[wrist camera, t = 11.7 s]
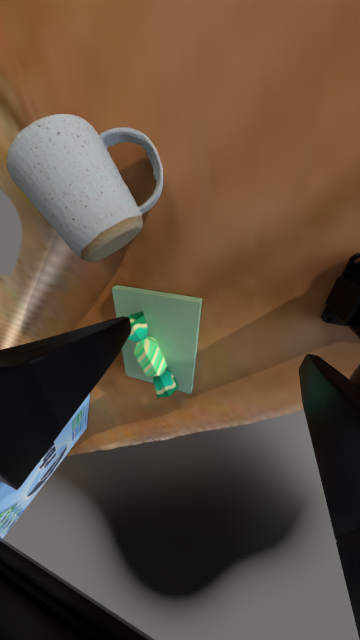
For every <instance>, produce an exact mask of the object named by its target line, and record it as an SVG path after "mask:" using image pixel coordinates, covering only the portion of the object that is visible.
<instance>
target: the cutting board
mask: <svg viewBox="0 0 360 640" xmlns="http://www.w3.org/2000/svg"><path fill="white" fill-rule="evenodd" d="M112 293H113V299H114V305H115V311H116V317H117V318H118V317H121V316H124V317H128V316H130V315H132V314H135V313H139V312H142V311H143V313H144V317H145V320H146V323H147V326H148V331H147V336H148V337H154V338H155V340H156V342H157V344H158V346H159V348H160V350H161V352H162V354H163V356H164V358H165V361H166V364H167V367H166V369H165V370H167V371H169V372H171V373H172V375H173V376H174V377H175V379H176V381H177V383H178V386H179V387H178V388H177V389H176V390H178V391H181V392H185V393H188V394H191V392H192V389H193V380H194V371H195V362H196V352H197V343H198V334H199V324H200V315H201V306H202V298H196V297H189V296H183V295H177V294H170V293H164V292H158V291H151V290H145V289H139V288H132V287H126V286H120V285H116V286H114V287H113V288H112ZM135 343H136V342H134V341H132V340H130V339H127V341H126V342H125V344H124V346H123V348H122V353H123V359H124V365H125V371H126V376H130V377H133V378H137V379H140V380H144V381H147V382H150V383H153V376H146V374H145V373H144V371H143V369H142V367H141V366H140V364H139V362H138V360H137V358H136V357H135V355H134V346H135Z"/></svg>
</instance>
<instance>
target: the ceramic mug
mask: <svg viewBox="0 0 360 640" xmlns="http://www.w3.org/2000/svg"><path fill="white" fill-rule="evenodd" d="M123 142H133V143H137V144H139V145H141V146H142V147H143V149H144V150H145V151H146V153H147V155H148V157H149V159H150V162H151V164H152V167H153V170H154V172H153V175H154V177H155V179H156V183H157V185H156V188H155V191H154V193H153V195H152V196H151V197H150V198H149V199H148V200H147V201H146V202H145V203H144V204H142V206H139V207H138V206H137V204H136V202H135V200H134V198H133V196H132V195H131V193H130V191H129V189H128V187H127V185H125V183H124V181H123V179H122V177H121V175H120V173H119V171H118V169H117V167H116V165H115V164H114V162H113V160H112V158H111V157H110V155H109V153H108V151H107V148H108V147H110V146H112V145H115V144H118V143H123ZM7 168H8V172H9V174H10V176H11V178H12V180H13V181H14V182H15V183H16V185H17V186H18V187H19V188H20V189H21V190H22V191H23V192H24V194H25V195H26V196H27V197H28V198H29V199H30V201H31V202H32V203H33V204H34V205H35V207H36V208H37V209H38V210H39V211H40V213H41V214H42V215H43V216H44V217H45V219H46V220H47V221H48V222H49V223H50V224H51V226H52V227H53V228H54V229H55V230H56V231H57V233H58V234H59V235H60V236H61V238H62V239H63V240H64V241H65V242H66V243H67V245H68V246H69V247H70V248H71V249H72V250H73V251H74V252H75V253H76V254H78V255H79V256H80V257H81V258H82V259H84V260H86V261H90V262H94V261H98V260H101V259H103V258H105V257H107V256H109V255H111V254H113V253H114V252H116V251H118V250H119V249H121V248H122V247H124V246H125V245H127V244H128V243H129V242H130V241H132V240H133V239H134V238H135V237H136V236H137V235H138V234H139V233H140V231H141V229H142V227H143V219H142V214H144V213H145V212H147V211H149V210H150V209H151V208H152V207H153V205H154V204H155V203H156V202H157V201H158V199H159V197H160V195H161V192H162V189H163V169H162V164H161V161H160V157H159V155H158V152H157V150H156V148H155V146H154V145H153V143H152V142H151V141H150V139H149V138H148V137H147V136H146V135H144V134H143V133H141V132H139V131H137V130H134V129H132V128H125V127H121V128H114V129H111V130H108V131H105V132H103V133H100V134H99V135H98V133H97V132H96V130H95V129H94V128H93V127H92V126H91V125H90V124H89V123H88V122H87V121H86V120H84V119H83V118H80V117H78V116H75V115H68V114H54V115H51V116H47V117H44V118H42V119H39V120H37V121H35V122H33V123H32V124H30V125H29V126H27V127H26V128H25V129H23V130H22V131H21V132H20V133H19V134H18V135H17V136H16V138H15V139H14V140H13V143H12V144H11V145H10V147H9V150H8V154H7Z"/></svg>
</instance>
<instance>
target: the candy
mask: <svg viewBox="0 0 360 640" xmlns="http://www.w3.org/2000/svg"><path fill="white" fill-rule="evenodd" d="M128 317H129V318H130V322H131V334H130V336H129V337H128V339H130V340H132V341H134V342H136V343H135V346H134V355H135V357H136V358H137V360H138V362H139V364H140V366H141V367H142V369H143V371H144V373H145V374H146V376H153V384H154V387H155V391H156V395H157V398H160V397H169V396H170V395H171V394H172V393H173V392H174V391H175V390H176V389H177V388H178V387H179V386H178V383H177V381H176V379H175V377H174V376H173V375H172V373H171V372H169V371H167V370H165V369H166V367H167V364H166V361H165V358H164V356H163V354H162V352H161V350H160V348H159V346H158V344H157V342H156V340H155V338H154V337H148V336H147V331H148V326H147V323H146V320H145V317H144V313H143V311H142V312H139V313H135V314H132V315H130V316H128Z"/></svg>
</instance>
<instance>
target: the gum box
mask: <svg viewBox="0 0 360 640" xmlns="http://www.w3.org/2000/svg"><path fill="white" fill-rule="evenodd" d="M89 399H90V394H89V395H88V396H87V398H86V399H85V400H84V402H83V403H82V404H81V406H80V407H79V409H78V410H77V411H76V413H75V414H74V415H73V417H72V418H71V419H70V421H69V422H68V423H67V425H66V426H65V427H64V428H63V430H62V432H61V433H60V434H59V436H58V437H57V438H56V440H55V441H54V443H53V444H52V445H51V447H50V448H49V449H48V451H47V452H46V453H45V455H44V456H43V457H42V459H41V460H40V462H39V463H38V464H37V466H36V467H35V468H34V470H33V471H32V472H31V474H30V475H29V476H28V478H27V479H26V480H25V482H24V483H23V484H22V486H21V487H20V488H19V489H18V490H16V489H14V488H12V487H10V486H8V485H7V484H5V483H3V482H1V481H0V538H1V539H3V537H4V536H5V535H6V534H7V532H8V531H9V530H10V528H11V527H12V526H13V524H14V523H15V522H16V520H17V519H18V518H19V516H20V515H21V514H22V512H23V511H24V510H25V508H26V507H27V506H28V505H29V503H30V502H31V501H32V499H33V498H34V497H35V495H36V494H37V493H38V491H39V490H40V489H41V488H42V486H43V485H44V484H45V482H46V481H47V480H48V478H49V477H50V476H51V475H52V473H53V472H54V470H55V469H56V468H57V467H58V465H59V464H60V463H61V461H62V460H63V459H64V457H65V456H66V455H67V453H68V452H69V451H70V449H71V448H72V447H73V446H74V444H75V443H76V442H77V440H78V439H79V438H80V436H81V435H82V434H83V432H84V431H85V430H86V428H87V420H88V409H89Z"/></svg>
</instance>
